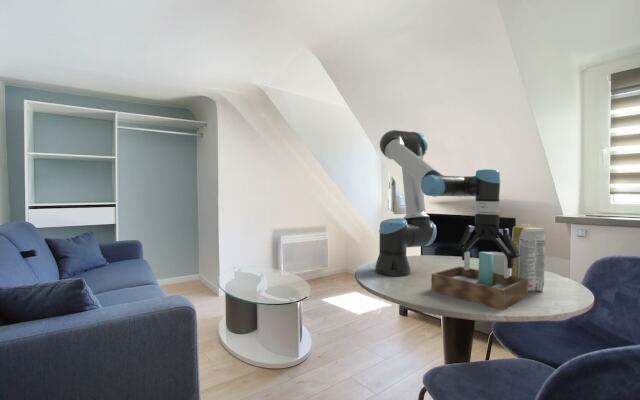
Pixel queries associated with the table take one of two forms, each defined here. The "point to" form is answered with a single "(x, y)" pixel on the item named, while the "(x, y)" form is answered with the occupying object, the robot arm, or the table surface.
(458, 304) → the table surface
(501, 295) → the crate
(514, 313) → the table surface
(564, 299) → the table surface
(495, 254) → the mug
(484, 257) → the peg
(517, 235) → the juice carton
